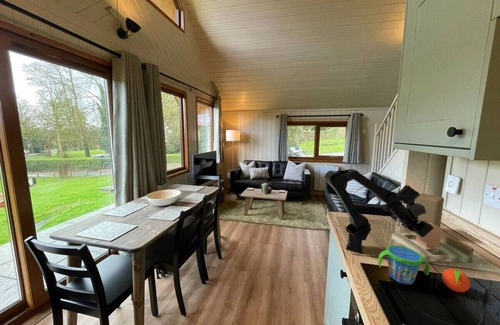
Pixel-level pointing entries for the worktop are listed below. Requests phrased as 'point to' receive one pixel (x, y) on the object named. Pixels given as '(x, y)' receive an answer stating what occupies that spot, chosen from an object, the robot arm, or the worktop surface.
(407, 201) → the robot arm
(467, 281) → the clementine
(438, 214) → the wooden block
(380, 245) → the worktop surface
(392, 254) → the snack cup
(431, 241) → the terracotta block
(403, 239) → the beige flat square piece
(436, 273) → the worktop surface
